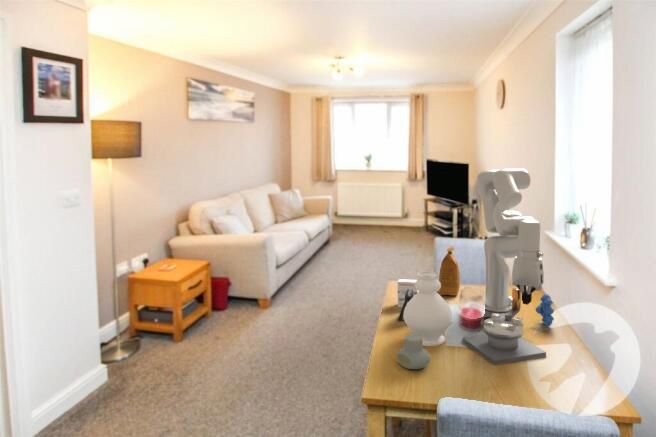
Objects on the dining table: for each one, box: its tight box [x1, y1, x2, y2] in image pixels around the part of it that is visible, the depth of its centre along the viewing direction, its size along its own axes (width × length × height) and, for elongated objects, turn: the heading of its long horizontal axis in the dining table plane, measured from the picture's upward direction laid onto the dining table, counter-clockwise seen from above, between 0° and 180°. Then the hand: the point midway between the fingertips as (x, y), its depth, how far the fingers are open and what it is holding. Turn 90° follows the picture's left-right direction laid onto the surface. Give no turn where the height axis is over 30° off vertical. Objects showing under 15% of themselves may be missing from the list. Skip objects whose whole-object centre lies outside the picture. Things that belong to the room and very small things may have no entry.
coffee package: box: [438, 245, 461, 296], centre depth 236 cm, size 10×12×22 cm
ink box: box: [397, 278, 419, 308], centre depth 220 cm, size 9×5×12 cm, turn 75°
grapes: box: [534, 293, 555, 328], centre depth 195 cm, size 12×7×12 cm, turn 170°
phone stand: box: [397, 289, 414, 323], centre depth 205 cm, size 9×6×12 cm, turn 74°
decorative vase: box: [403, 271, 453, 347], centre depth 183 cm, size 18×18×25 cm
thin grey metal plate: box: [462, 333, 547, 366], centre depth 175 cm, size 20×20×6 cm
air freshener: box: [396, 333, 431, 370], centre depth 164 cm, size 11×8×10 cm
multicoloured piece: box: [483, 287, 524, 340], centre depth 177 cm, size 23×13×12 cm, turn 143°
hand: (526, 303), depth 181 cm, fingers closed
